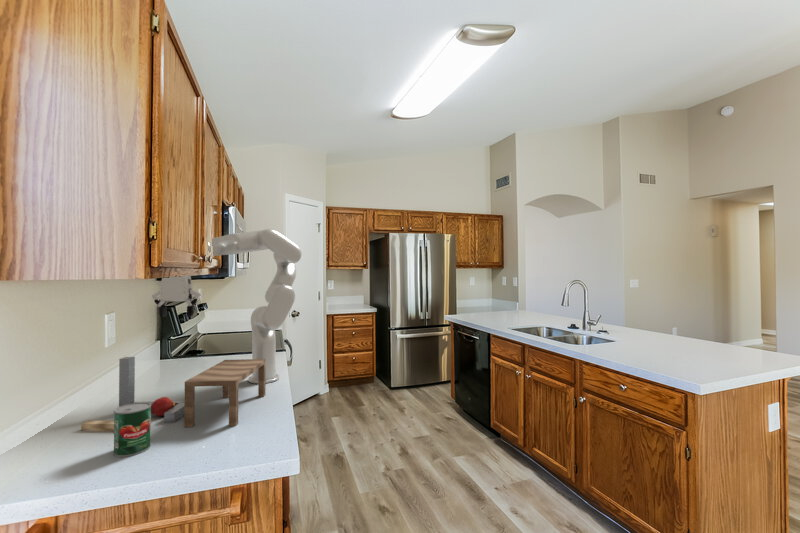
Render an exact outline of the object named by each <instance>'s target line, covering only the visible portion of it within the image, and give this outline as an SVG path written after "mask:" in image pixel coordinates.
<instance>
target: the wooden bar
mask: <svg viewBox="0 0 800 533" xmlns="http://www.w3.org/2000/svg"><path fill="white" fill-rule="evenodd" d="M80 428H81V430H98V431H97V432H114V420H87V421H84V422H82V423H81V426H80Z"/></svg>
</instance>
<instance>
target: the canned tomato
mask: <svg viewBox="0 0 800 533" xmlns="http://www.w3.org/2000/svg"><path fill="white" fill-rule="evenodd" d="M139 402H140V403H132V404H127V405H123V406H120V407H119V406H118V407H116V408H115V409H114V410H113V421H114V431H113V456H115V457H117V458H123V457H124V458H125V457H126V458H127V457H131V456H135V455H139V454H142V453H145V452H146V451H148V450H150V448H151V442H152V440H151V439H152V438H151V434H152V432H151V429H152V428H151V423H152V422H151V420H152V419H151V418H152V417H151V415H152V414H151V404H150V403H146V402H147V401H139Z"/></svg>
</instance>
